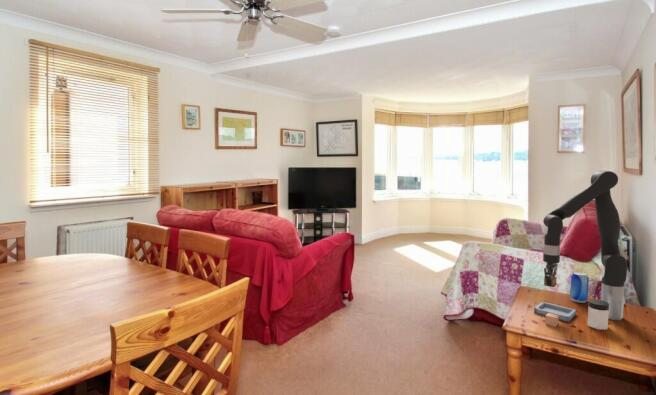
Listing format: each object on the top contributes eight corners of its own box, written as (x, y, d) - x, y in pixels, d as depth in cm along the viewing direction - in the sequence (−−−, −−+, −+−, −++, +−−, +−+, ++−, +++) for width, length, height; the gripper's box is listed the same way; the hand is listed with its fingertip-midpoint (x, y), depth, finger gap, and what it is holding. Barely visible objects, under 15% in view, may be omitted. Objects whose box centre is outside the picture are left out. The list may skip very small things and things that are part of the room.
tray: (575, 314, 197) (576, 309, 197) (568, 321, 188) (568, 317, 188) (542, 306, 209) (542, 301, 208) (533, 312, 200) (534, 308, 200)
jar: (612, 328, 181) (613, 303, 180) (602, 331, 177) (604, 306, 176) (592, 321, 189) (593, 297, 188) (582, 324, 185) (584, 300, 184)
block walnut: (556, 285, 199) (556, 277, 198) (553, 287, 196) (553, 279, 195) (546, 283, 202) (547, 275, 202) (544, 285, 199) (544, 277, 199)
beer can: (590, 303, 212) (592, 275, 210) (575, 303, 212) (577, 275, 211) (581, 297, 220) (582, 271, 219) (566, 298, 220) (568, 271, 219)
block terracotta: (558, 324, 186) (558, 315, 186) (555, 326, 183) (555, 318, 182) (548, 321, 189) (548, 312, 189) (545, 324, 186) (545, 315, 186)
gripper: (555, 256, 190) (553, 289, 191) (563, 251, 199) (562, 283, 201) (539, 254, 195) (537, 286, 197) (548, 249, 205) (546, 280, 206)
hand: (550, 284), depth 199 cm, fingers closed on block walnut, 4 cm apart
